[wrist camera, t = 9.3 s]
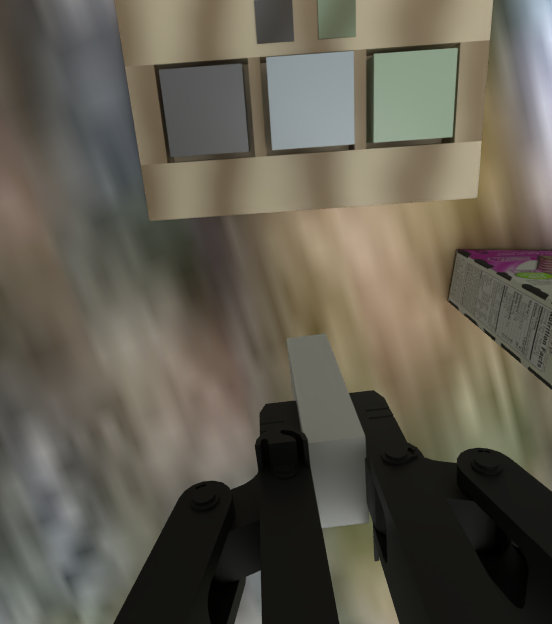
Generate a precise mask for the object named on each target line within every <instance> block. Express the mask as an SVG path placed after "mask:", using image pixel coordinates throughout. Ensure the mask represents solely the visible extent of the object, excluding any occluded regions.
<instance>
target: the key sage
mask: <svg viewBox="0 0 552 624" xmlns="http://www.w3.org/2000/svg"><path fill="white" fill-rule="evenodd" d="M457 52H458V48H448V49H434V50H421V51H407V52H393V53H379V54H373V55H372V56H371V57H370V58H369V59H368V60H367V61H366V143H376V142H390V141H404V140H418V139H432V138H447V137H452V136H453V119H454V102H455V86H456V69H457Z"/></svg>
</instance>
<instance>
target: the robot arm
mask: <svg viewBox="0 0 552 624" xmlns="http://www.w3.org/2000/svg"><path fill="white" fill-rule="evenodd" d="M287 346H288V356H289V365H290V375H291V384H292V394H293V401H287V402H279V403H270V404H265V406H264V407H263V409H262V410H261V412H260V437H259V438H258V439H257V440H256V444H255V450H256V457H257V464H258V473H257V475H256V476H255V477H254V478H253V479H252V480H250V481H249V482H247V483H246V484H244V485H241V486H239V487H237V488H234V489H231V490H230V488H229V487H228V486H227V485H225V484H224V483H222V482H217V481H204V482H201V483H198V484H195V485H193V486H191V487H190V488H188V489H187V490H185V491H184V493H183V494H182V495H181V496H180V498H179V499H178V501H177V503H176V505H175V507H174V509H173V511H172V513H171V515H170V516H169V518H168V520H167V522H166V524H165V526H164V528H163V530H162V532H161V534H160V536H159V538H158V539H157V541H156V543H155V545H154V547H153V549H152V551H151V553H150V555H149V557H148V559H147V560H146V562H145V564H144V566H143V568H142V570H141V572H140V574H139V576H138V578H137V580H136V582H135V583H134V585H133V587H132V589H131V591H130V593H129V595H128V597H127V599H126V601H125V603H124V604H123V606H122V608H121V610H120V612H119V614H118V616H117V618H116V620H115V622H114V624H234V623H235V619H236V615H237V612H238V608H239V605H240V601H241V597H242V594H243V590H244V586H245V582H246V576H249V575H251V574H253V573H255V572H258V571H260V570H261V597H262V624H339V620H338V614H337V609H336V603H335V598H334V592H333V587H332V581H331V576H330V571H329V565H328V560H327V554H326V549H325V543H324V538H323V532H322V528H327V527H335V526H343V525H352V524H360V523H369V511H370V515H371V518H372V521H373V537H374V559H375V561H379V558H380V561H381V564H382V568H383V571H384V574H385V578H386V581H387V584H388V587H389V591H390V594H391V597H392V601H393V604H394V607H395V611H396V614H397V617H398V620H399V624H552V491H550V490H549V489H548V488H547V487H545V486H544V485H543V484H542V483H540V482H539V481H538V480H537V479H535V478H534V477H533V476H532V475H530V474H529V473H528V472H527V471H525V470H524V469H523V468H522V467H520V466H519V465H518V464H517V463H515V462H514V461H513V460H512V459H510V458H509V457H507V456H506V455H504V454H502V453H500V452H498V451H494V450H491V449H485V448H473V449H468V450H466V451H464V452H462V453H461V454H460V455H459V457H458V458H457V463H451V462H441V461H435V460H431V459H428V458H425V457H424V456H423V454H422V453H421V452H420V450H419V449H418V448H417V447H415V446H413V445H411V444H410V443H407V441H406V439H405V437H404V435H403V433H402V431H401V429H400V427H399V425H398V423H397V422H396V420H395V418H394V417H393V414H392V412H391V410H390V409H389V406H388V404H387V402H386V400H385V398H384V397H382V396H381V395H379V394H378V393H377V392H375V391H374V390H372V391H363V392H355V393H348V390H347V388H346V385H345V382H344V380H343V377H342V375H341V372H340V369H339V367H338V364H337V362H336V359H335V356H334V354H333V351H332V349H331V346H330V344H329V341H328V338H327V336H326V334H319V335H311V336H302V337H293V338H287Z"/></svg>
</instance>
